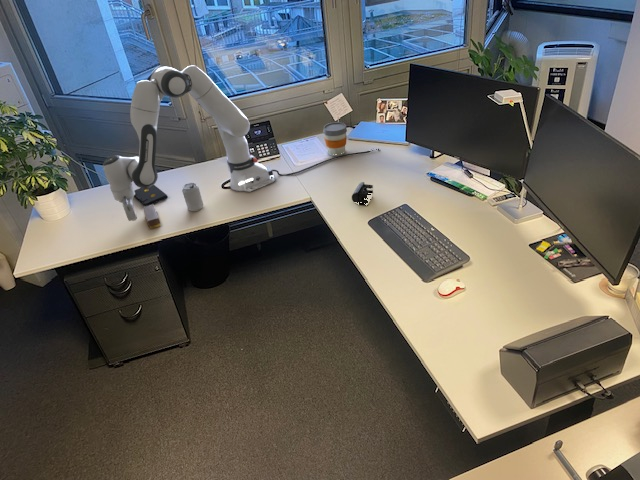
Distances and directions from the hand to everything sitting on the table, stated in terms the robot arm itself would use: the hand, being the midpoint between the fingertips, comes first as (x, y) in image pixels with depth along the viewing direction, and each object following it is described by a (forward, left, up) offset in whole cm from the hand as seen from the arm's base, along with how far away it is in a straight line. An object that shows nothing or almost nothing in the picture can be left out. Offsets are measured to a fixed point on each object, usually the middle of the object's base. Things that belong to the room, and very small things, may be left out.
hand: (133, 219), depth 208 cm
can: (-28, 0, -4) cm, 28 cm away
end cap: (-96, +38, -4) cm, 104 cm away
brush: (-8, 0, -4) cm, 8 cm away
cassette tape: (-10, -25, -4) cm, 27 cm away
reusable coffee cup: (-110, -14, -4) cm, 111 cm away
